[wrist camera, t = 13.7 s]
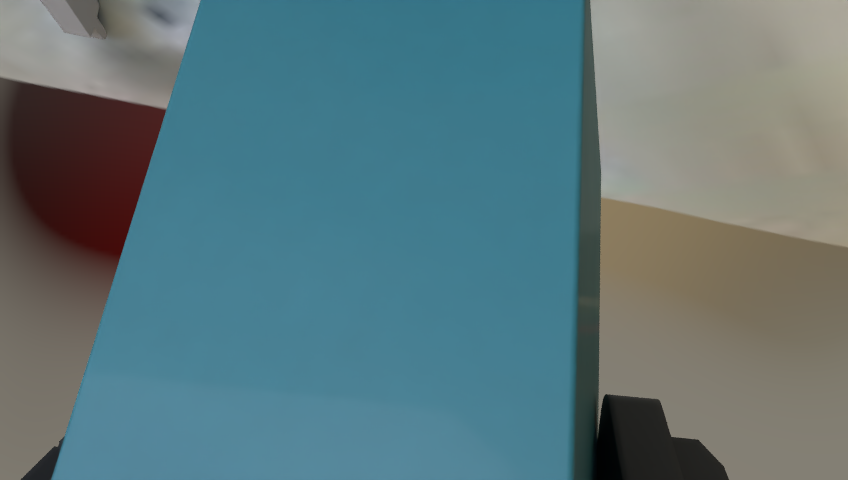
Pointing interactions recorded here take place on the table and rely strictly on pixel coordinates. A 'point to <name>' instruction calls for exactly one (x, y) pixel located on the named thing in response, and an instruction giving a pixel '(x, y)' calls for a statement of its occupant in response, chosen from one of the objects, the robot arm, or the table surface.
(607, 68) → the table surface
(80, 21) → the caliper
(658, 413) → the robot arm
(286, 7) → the block
